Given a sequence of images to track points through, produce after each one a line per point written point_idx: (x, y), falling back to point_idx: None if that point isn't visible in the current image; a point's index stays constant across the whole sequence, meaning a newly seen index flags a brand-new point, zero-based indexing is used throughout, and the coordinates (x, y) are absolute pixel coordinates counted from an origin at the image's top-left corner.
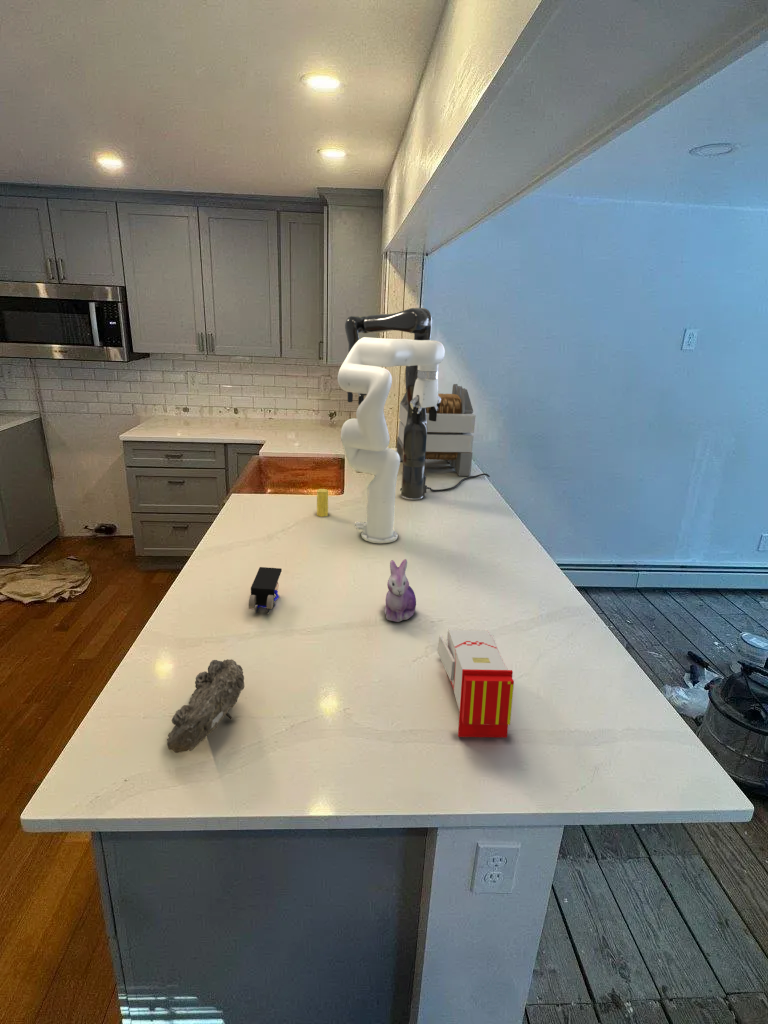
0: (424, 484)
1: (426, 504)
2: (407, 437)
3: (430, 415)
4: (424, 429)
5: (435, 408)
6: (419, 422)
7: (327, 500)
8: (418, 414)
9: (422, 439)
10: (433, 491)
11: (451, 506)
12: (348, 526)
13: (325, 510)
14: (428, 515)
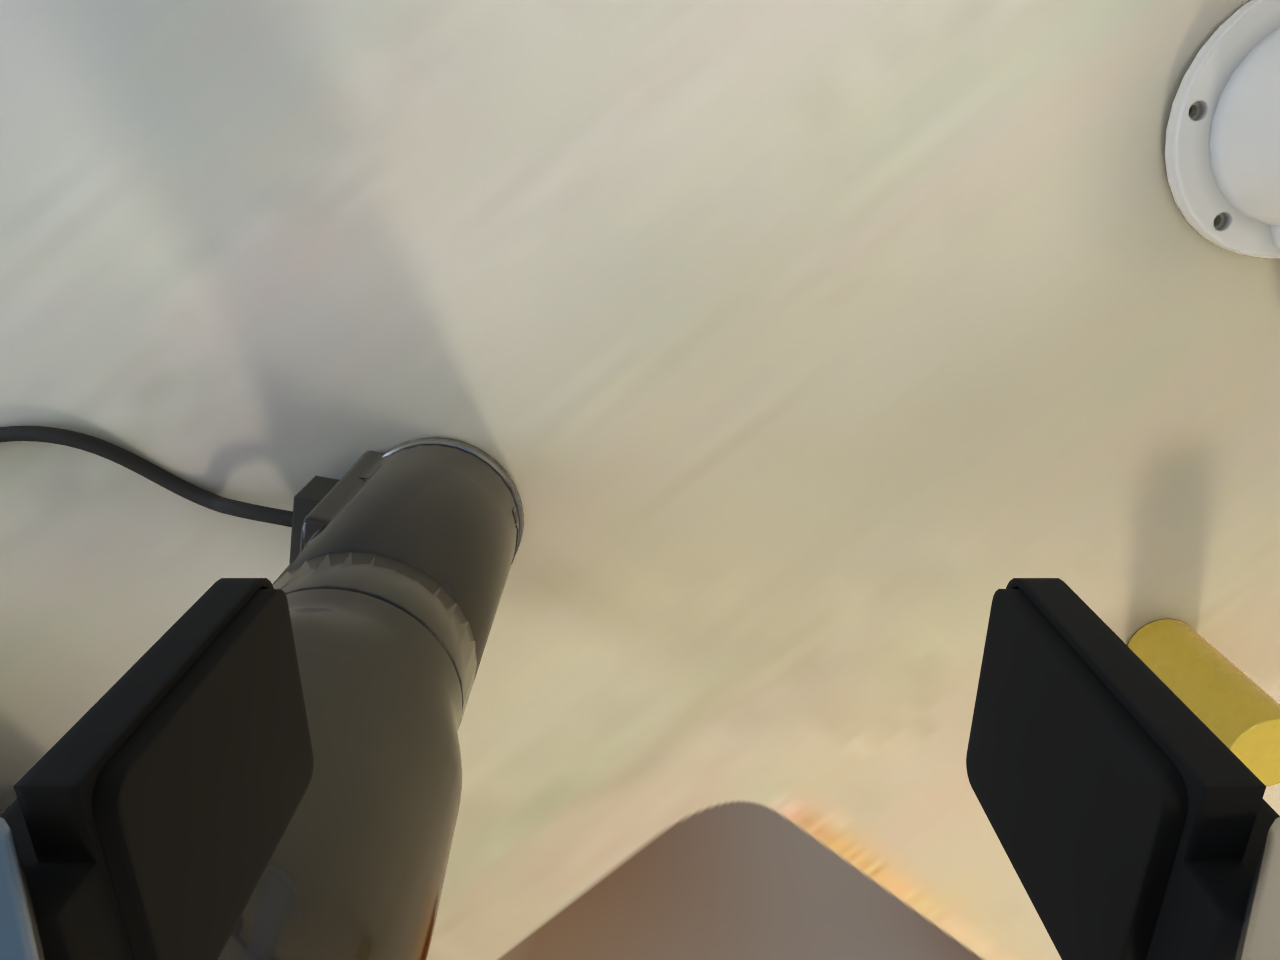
0: (343, 490)
1: (478, 339)
2: (421, 881)
3: (251, 831)
4: None
5: (31, 904)
6: (1077, 597)
7: (1218, 679)
8: (1222, 818)
9: None
10: (203, 491)
11: (349, 171)
12: (1240, 407)
13: (1197, 640)
14: (665, 165)
